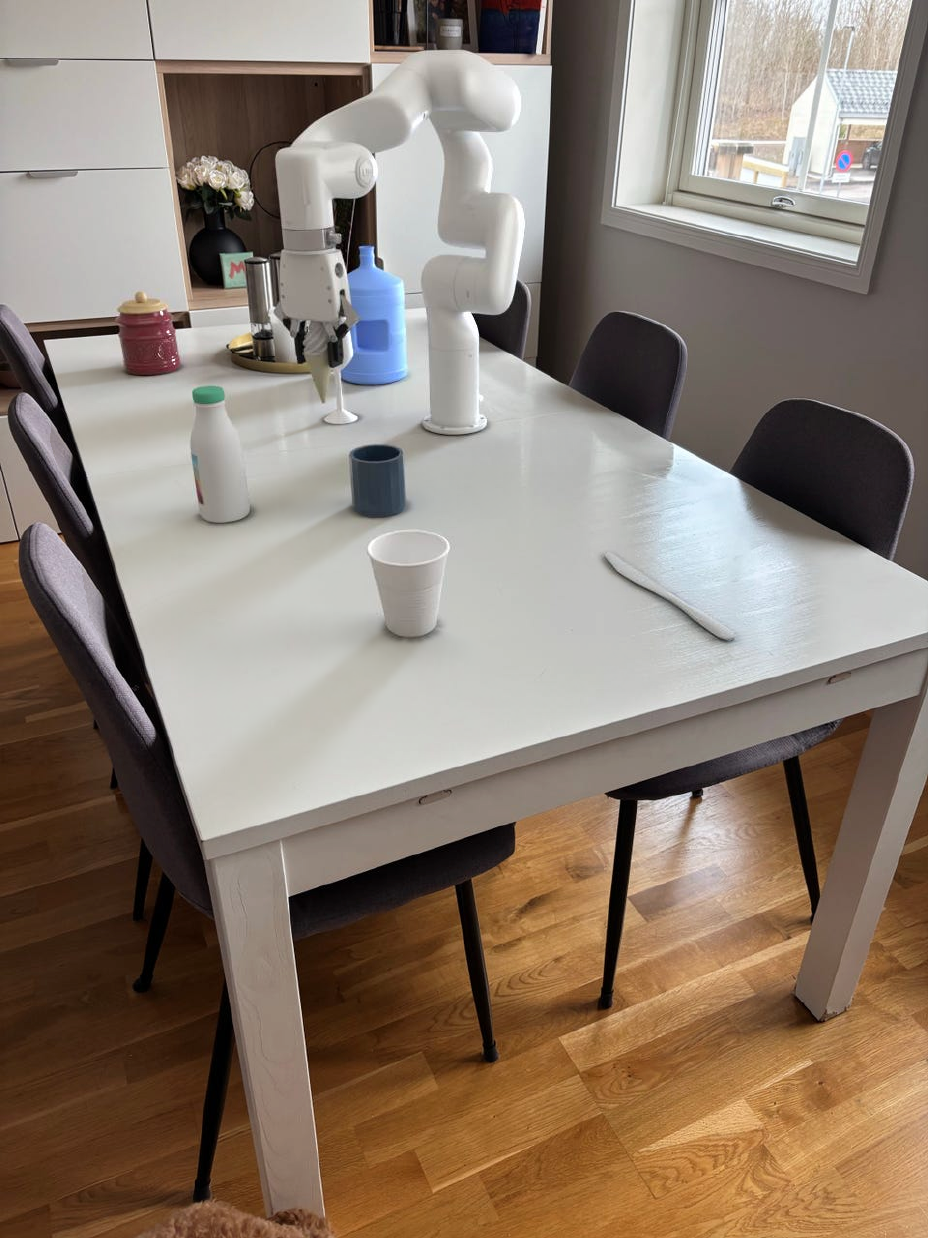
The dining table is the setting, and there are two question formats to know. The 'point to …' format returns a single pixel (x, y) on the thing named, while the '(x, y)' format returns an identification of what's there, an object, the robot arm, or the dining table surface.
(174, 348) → the kitchen canister
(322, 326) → the ice cream cone
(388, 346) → the water jug
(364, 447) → the tumbler
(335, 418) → the champagne flute
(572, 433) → the dining table surface
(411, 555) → the cup
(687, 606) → the butter knife
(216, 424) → the milk bottle
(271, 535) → the dining table surface
